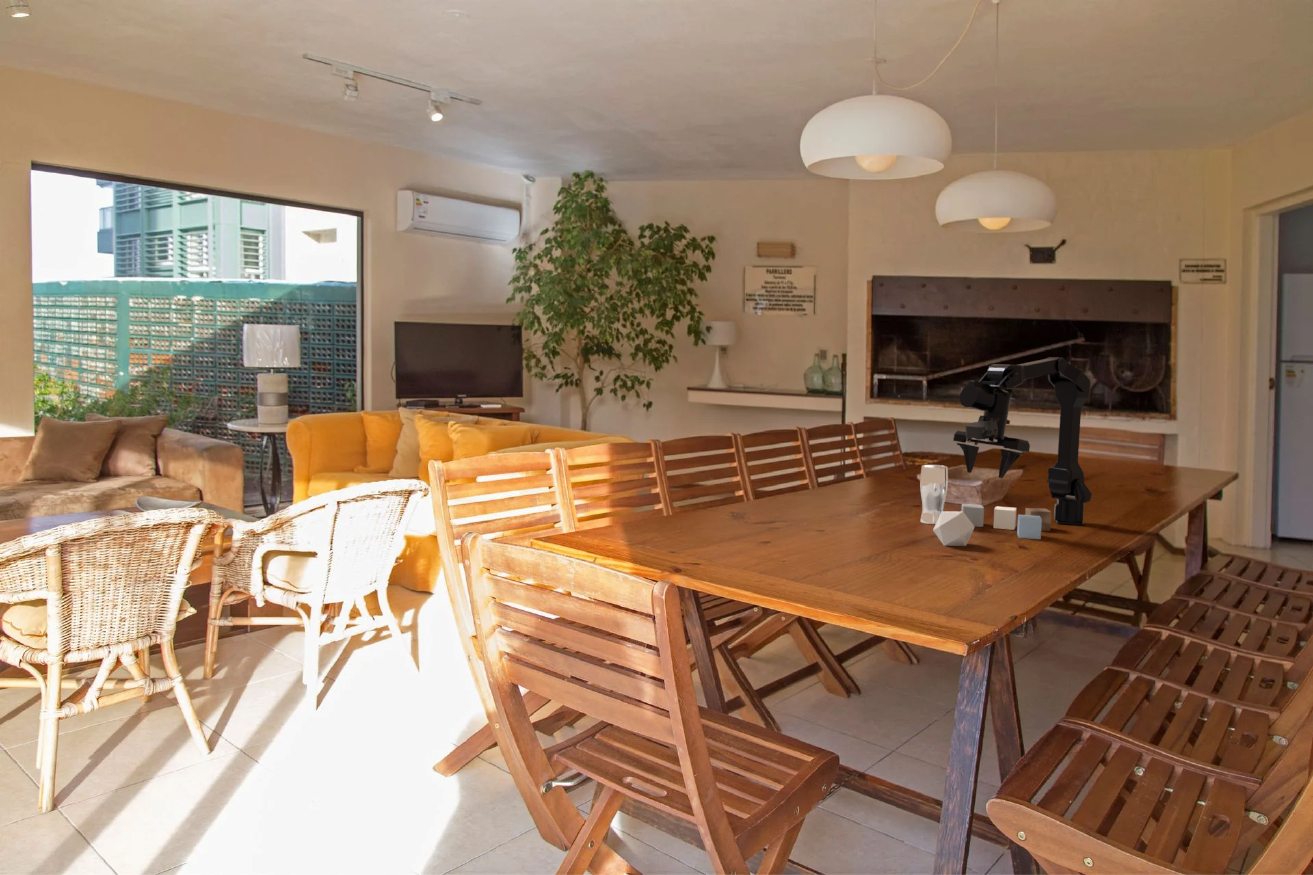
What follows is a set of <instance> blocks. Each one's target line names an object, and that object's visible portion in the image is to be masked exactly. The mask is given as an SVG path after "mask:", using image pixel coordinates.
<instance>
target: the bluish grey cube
mask: <svg viewBox="0 0 1313 875" xmlns="http://www.w3.org/2000/svg"><path fill="white" fill-rule="evenodd" d="M1041 524H1042V519H1041V517H1040V516H1033V515H1025V514H1018V515H1017V528H1016V532H1017V533H1016V535H1017V537H1018V539H1030V540H1032V539H1033V540H1041V539H1042V537H1041V536H1042V531H1041Z"/></svg>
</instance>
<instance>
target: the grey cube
mask: <svg viewBox="0 0 1313 875" xmlns="http://www.w3.org/2000/svg"><path fill="white" fill-rule="evenodd" d="M960 511H963V512H964V513H965V515H966V516H967V517H968V519H969V520H970V521H971V523H972V524H973V525H974V527H981V528H982V527H984V516H985V513H984V512H985V507H984V506H983V505H982V504H968V503H962V504H961V510H960Z"/></svg>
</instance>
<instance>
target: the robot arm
mask: <svg viewBox="0 0 1313 875" xmlns="http://www.w3.org/2000/svg"><path fill="white" fill-rule="evenodd" d="M1044 376H1047V380H1048V382H1049V383H1050V384H1051V385H1052V386H1053V387H1054V397H1055V399H1056V400H1057V404H1058V405H1059V408H1060V411H1059V412H1060V413H1059V429H1058V443H1057V444H1058V446H1057V459H1056V463H1055V464H1054V465H1053V467H1051V466H1049V467H1048V470H1047V472H1048V473H1047V474H1048V477H1047V479H1046V480H1047V481H1046V483H1048V487H1049V490H1050V491H1049V492H1050V496H1051V498H1052V499H1056V503H1054V510H1053V511H1054V512H1053V514H1054V515H1053V519H1054V521H1055V522H1056V524H1060V525H1061V524H1062V525H1063V524H1064V525H1074V526H1075V525H1077V526H1079V525H1080V526H1084V525H1085V523H1084V511H1085V509H1084V508H1085V504H1086V503H1088V502H1090V501H1091V498H1092V495H1093V494H1092V492H1091V491H1090V490H1089V488H1088V487H1087V485H1086V484H1085V477H1084V475H1085V473H1084V471H1083V469H1082V467H1081V466H1080V464H1079V449H1080V448H1079V447H1080V434H1081V433H1080V432H1081V419H1082V418H1081V416H1082V407H1083V406H1084V404H1085V403H1086V401H1087V400H1088V398H1089V397H1090V396H1089V395H1090V390H1091V389H1090V388H1091V380H1090V378H1088V376H1087V375H1086V374H1085V373H1084V372H1083V371H1082V370H1081V369H1078V368H1077V367H1076V366H1074V365H1072V364H1071V363H1069V361H1067V359H1065V358H1063V357H1054V356H1053V357H1051V356H1049V357H1046V358H1044V359H1040V360H1033V361H1030V362H1024V363H1020V364H1019V363H1018V364H1001V363H1000V364H995V363H994V364H991V365H989V366H988V369H987V371H986V372H985V373H984V375H983V376H982V377H980V379H979V380H969V381H968V384H966V386H964V387H963V389H962V390H961V392H960V393H959V403H960V404H961V405H962V406H963V407H965V408H968V409H973V410H976V411H981V412H983V415H982V414H981V415H979V417H978V421H974V422H970V423H968V424H965V426H964V427H965V431H961V430H957V431H956V432H955V433H954V434H953V438H952V441H953V442H956V445H957V446H959V447H960V448H961V450H962V452H963V456H964V462H965V465H966V466H965V467H966V472H967V473H969V474H971V473H972V471H973V469H974V467H975V463H976V460H977V456H978V453H979V449H980V447H979V446H977V445H979V444H982V445H989V446H998V447H1003V448H1002V449H1001V448H1000V454H1001V460H1000V466H999V471H998V478H1000V479H1003V478H1004V476H1005V475H1006V474H1007V472H1008V471H1009V470H1010V468H1011V467H1012V466H1013V465H1014V463H1015V462H1016V461H1017V460H1018V459H1019V458H1020V456H1024V453H1030V448H1031V445H1030V442H1029V441H1028V440H1025V439H1020V438H1018V437H1017V438H1016V437H1008V436H1006V435H1005V432H1006V427H1007V425H1010V424H1011V420H1010V419H1008V416H1009V411H1010V406H1011V401H1012V400H1017V399H1018V398H1019V397H1018V395H1017V394H1016V393H1015V392H1014V391H1015V390H1014V389H1013V388H1015V387H1017V386H1020V385H1022V384H1023V383H1024V381H1026V380H1030V379H1035V378H1039V377H1044ZM994 440H996V441H994Z"/></svg>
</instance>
